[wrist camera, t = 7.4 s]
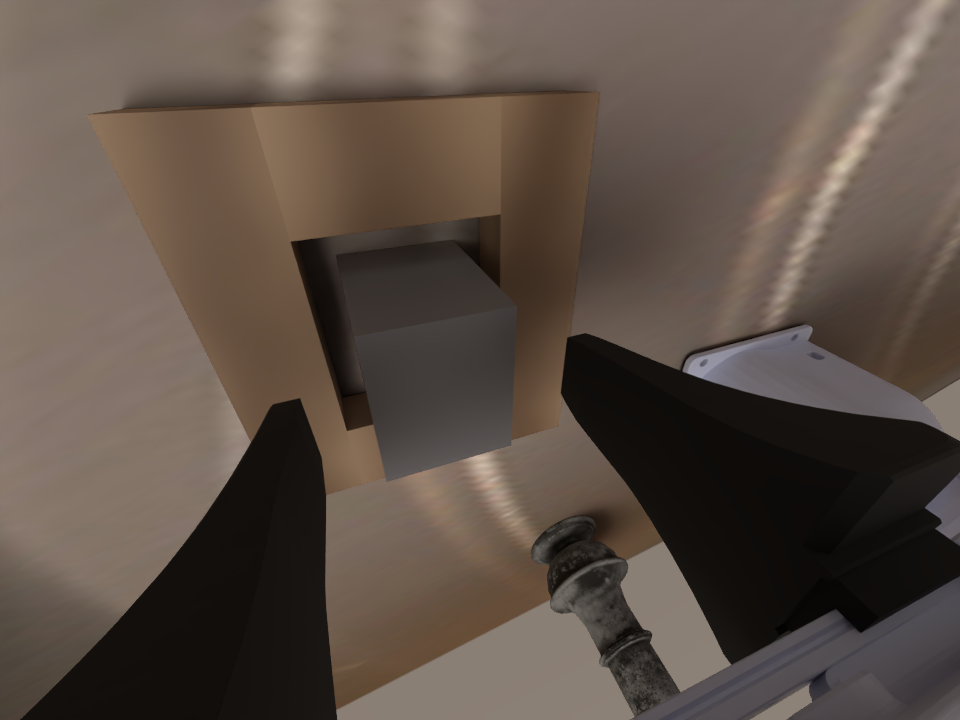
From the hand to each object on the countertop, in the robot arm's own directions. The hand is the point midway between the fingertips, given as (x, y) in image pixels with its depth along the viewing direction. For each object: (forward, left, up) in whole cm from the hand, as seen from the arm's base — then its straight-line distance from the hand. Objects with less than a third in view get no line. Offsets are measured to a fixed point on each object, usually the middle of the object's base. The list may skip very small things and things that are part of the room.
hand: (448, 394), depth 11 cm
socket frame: (0, 0, -5) cm, 5 cm away
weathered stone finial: (-9, +21, -6) cm, 24 cm away
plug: (0, 0, -6) cm, 6 cm away
